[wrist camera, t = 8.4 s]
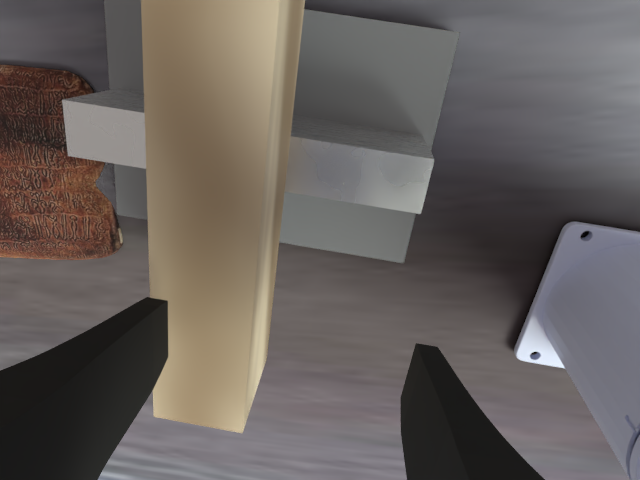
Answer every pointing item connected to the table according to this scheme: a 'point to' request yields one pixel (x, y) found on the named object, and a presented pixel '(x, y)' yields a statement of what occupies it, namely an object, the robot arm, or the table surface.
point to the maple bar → (216, 192)
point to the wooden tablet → (48, 173)
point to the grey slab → (324, 113)
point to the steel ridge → (303, 160)
